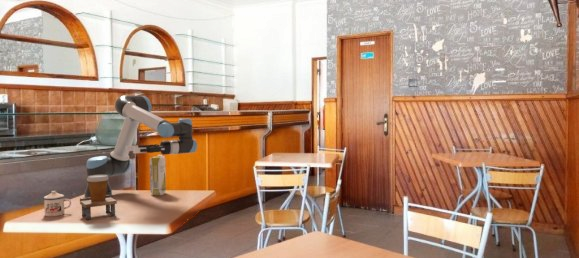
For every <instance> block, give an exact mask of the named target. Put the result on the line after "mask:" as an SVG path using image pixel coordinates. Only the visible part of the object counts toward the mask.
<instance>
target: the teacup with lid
mask: <svg viewBox="0 0 579 258" xmlns="http://www.w3.org/2000/svg"><path fill="white" fill-rule="evenodd" d="M65 201H67V202H69V203H68V204H69V205H68V206H66V207H65ZM43 205H44V207H43V208H44V216H45V217H58V216H59V217H60V216H62V215H64V214H65V210H67V209H69V208H71V205H72V201H71V199H69V198H65V195H64V194H62V193H58V192H57V190H51V193H49V194H48V195H45V196H44V197H43Z"/></svg>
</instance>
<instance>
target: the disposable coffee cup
mask: <svg viewBox="0 0 579 258" xmlns="http://www.w3.org/2000/svg"><path fill="white" fill-rule="evenodd" d="M107 180H109V177H108V176H107V175H91V176H88V179H87V178H86V181H88V184H89V190H90V196H91V201H92V202H100V201H105V199H106V189H107Z"/></svg>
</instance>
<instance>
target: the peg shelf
mask: <svg viewBox="0 0 579 258" xmlns="http://www.w3.org/2000/svg"><path fill="white" fill-rule="evenodd" d="M79 204H80V205H81V216H82V217H85V218H86V219H85V220H86V221H91V220H92V217H91V216H92V212H91V208H95V207H96V208H97V207H103V206H105V213H106V214H109V213H110V217H116V205H118V202H117V200H116V199H114V198H113V197H112V195H111V196H110V195H106V199H105V201H100V202H92V201H91V197H88V198H85V197H81V198H79Z"/></svg>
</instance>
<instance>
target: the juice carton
mask: <svg viewBox="0 0 579 258" xmlns="http://www.w3.org/2000/svg"><path fill="white" fill-rule="evenodd" d="M166 173H167V170H166V157H165V155H163V154H157V156H153V157H150V158H149V187H150V188H149V189H150V195H151V196H162V195H165V194H166V191H167V190H166V189H167V174H166Z"/></svg>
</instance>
